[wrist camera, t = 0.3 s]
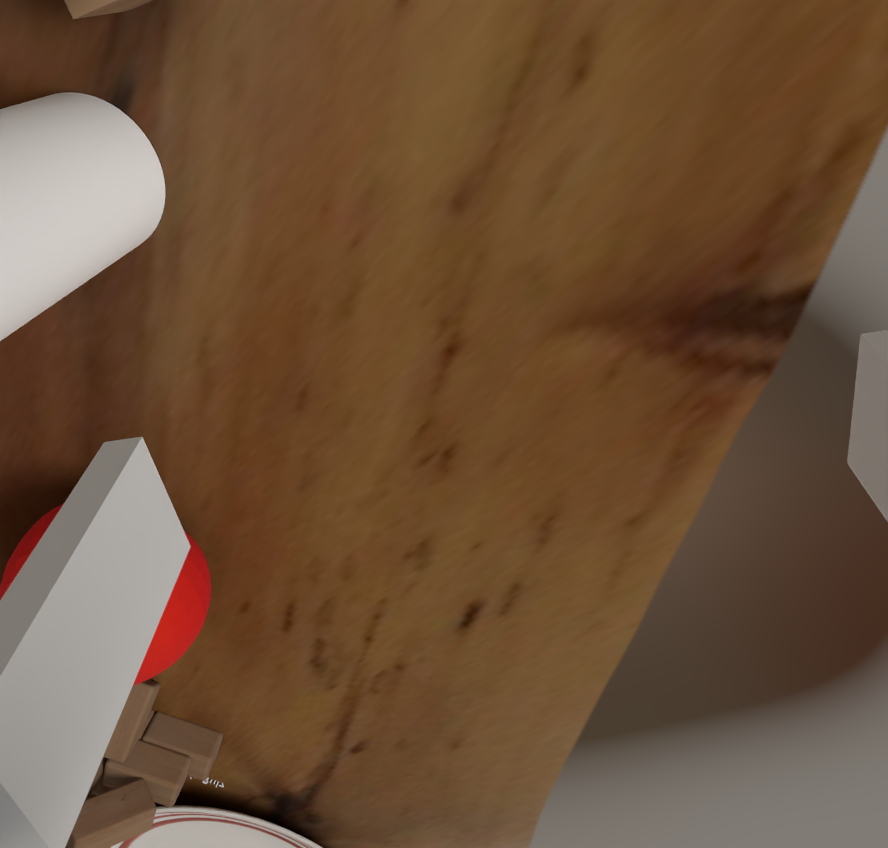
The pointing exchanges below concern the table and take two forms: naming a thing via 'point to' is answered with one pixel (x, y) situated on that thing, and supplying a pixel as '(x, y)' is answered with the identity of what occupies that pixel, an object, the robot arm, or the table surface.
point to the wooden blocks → (142, 770)
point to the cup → (69, 198)
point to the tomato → (178, 616)
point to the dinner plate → (213, 831)
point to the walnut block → (101, 7)
